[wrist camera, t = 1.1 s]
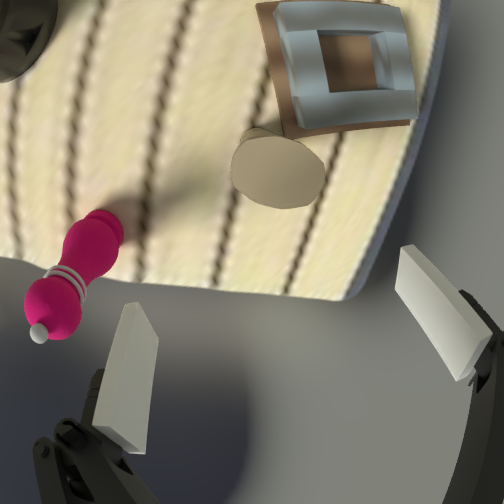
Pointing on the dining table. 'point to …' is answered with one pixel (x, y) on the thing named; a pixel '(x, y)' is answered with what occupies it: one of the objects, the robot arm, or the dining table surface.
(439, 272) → the robot arm
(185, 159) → the dining table surface
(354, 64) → the frame
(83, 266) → the pepper mill
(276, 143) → the handle
